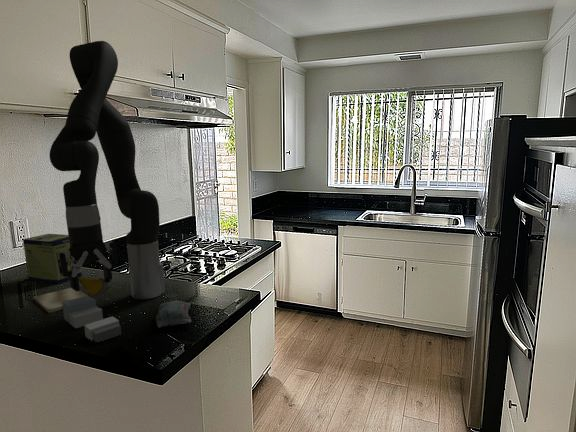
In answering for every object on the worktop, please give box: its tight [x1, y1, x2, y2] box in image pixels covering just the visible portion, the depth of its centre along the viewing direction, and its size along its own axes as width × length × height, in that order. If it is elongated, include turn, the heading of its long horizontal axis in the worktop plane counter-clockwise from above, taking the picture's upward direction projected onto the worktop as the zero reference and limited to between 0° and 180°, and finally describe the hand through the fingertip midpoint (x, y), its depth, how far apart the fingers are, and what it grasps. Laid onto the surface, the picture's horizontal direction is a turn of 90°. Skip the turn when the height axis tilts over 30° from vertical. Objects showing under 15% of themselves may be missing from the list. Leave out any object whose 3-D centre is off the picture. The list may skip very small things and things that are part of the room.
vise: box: [62, 294, 122, 343], centre depth 108 cm, size 7×22×5 cm, turn 45°
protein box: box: [22, 233, 83, 285], centre depth 150 cm, size 10×16×16 cm
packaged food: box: [155, 299, 192, 329], centre depth 109 cm, size 9×12×5 cm
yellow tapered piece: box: [78, 276, 110, 299], centre depth 106 cm, size 5×5×10 cm
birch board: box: [33, 287, 88, 314], centre depth 128 cm, size 12×16×1 cm
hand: (92, 286), depth 105 cm, fingers closed on yellow tapered piece, 7 cm apart
